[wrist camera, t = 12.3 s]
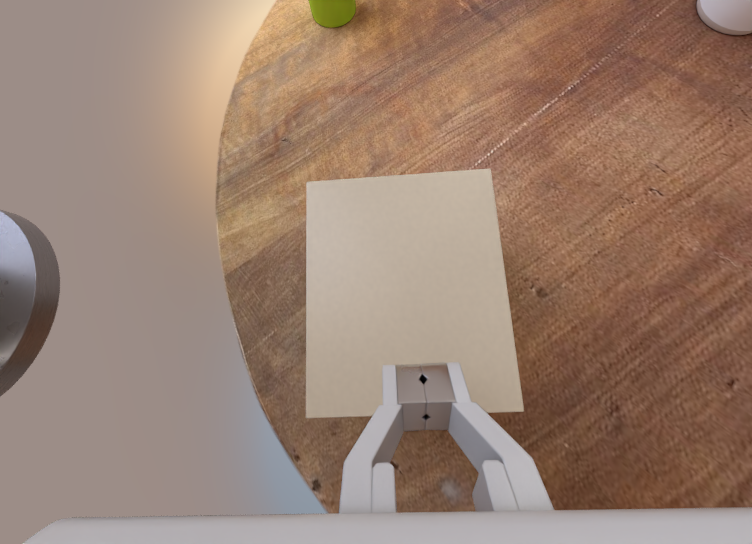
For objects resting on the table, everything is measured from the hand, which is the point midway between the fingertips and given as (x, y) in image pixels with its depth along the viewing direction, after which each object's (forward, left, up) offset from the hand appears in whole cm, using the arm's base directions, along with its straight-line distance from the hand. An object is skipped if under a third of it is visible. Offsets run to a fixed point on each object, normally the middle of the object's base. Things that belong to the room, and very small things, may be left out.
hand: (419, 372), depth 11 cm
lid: (+3, +4, -8) cm, 9 cm away
